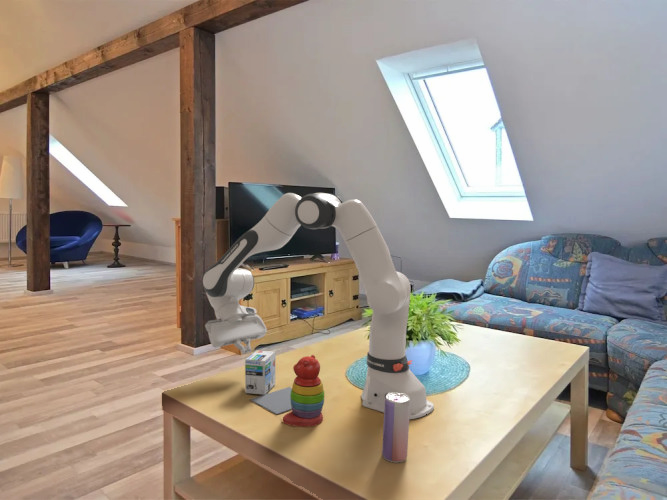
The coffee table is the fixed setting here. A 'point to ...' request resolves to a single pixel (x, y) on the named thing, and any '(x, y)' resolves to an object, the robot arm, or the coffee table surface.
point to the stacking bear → (306, 394)
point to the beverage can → (396, 427)
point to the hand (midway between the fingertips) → (247, 352)
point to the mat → (275, 401)
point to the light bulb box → (260, 372)
